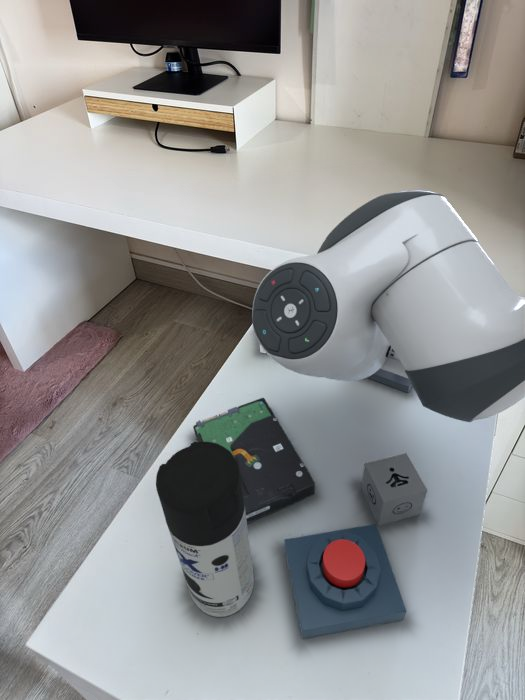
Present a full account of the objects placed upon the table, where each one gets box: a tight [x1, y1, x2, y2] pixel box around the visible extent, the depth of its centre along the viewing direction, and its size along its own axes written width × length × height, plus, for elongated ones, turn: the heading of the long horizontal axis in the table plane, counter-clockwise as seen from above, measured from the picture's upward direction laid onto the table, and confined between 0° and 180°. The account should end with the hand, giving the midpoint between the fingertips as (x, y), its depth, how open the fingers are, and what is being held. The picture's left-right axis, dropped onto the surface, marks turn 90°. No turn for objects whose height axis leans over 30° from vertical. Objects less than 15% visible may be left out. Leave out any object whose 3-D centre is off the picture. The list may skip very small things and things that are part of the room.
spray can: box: [155, 441, 255, 618], centre depth 45 cm, size 7×7×20 cm
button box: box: [283, 523, 407, 640], centre depth 50 cm, size 10×9×4 cm
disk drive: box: [193, 397, 316, 524], centre depth 62 cm, size 10×3×15 cm
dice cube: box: [360, 452, 428, 527], centre depth 57 cm, size 5×5×5 cm
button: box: [322, 540, 365, 588], centre depth 49 cm, size 4×4×2 cm
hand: (372, 349), depth 63 cm, fingers closed on lever, 3 cm apart
